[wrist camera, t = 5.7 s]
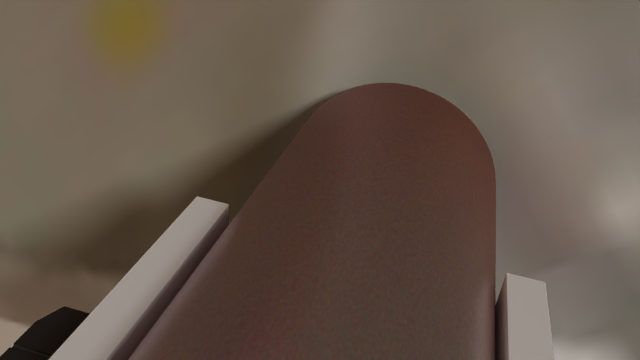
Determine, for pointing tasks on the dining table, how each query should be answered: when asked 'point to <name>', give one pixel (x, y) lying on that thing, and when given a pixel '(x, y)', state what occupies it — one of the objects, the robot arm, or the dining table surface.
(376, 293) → the beverage can
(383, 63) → the dining table surface
